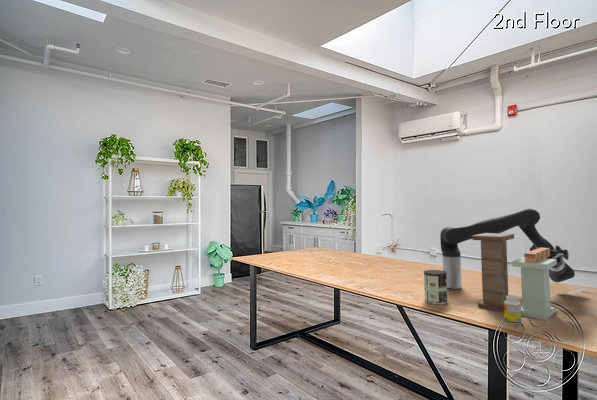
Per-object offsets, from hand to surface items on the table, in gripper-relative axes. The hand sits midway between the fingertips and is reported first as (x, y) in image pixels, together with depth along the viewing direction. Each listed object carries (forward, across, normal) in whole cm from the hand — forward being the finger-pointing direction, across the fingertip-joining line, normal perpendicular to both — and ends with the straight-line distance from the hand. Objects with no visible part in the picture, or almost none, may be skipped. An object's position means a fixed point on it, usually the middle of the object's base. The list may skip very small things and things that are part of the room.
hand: (545, 246), depth 157 cm
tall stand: (+2, -15, +31) cm, 35 cm away
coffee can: (+11, -38, +36) cm, 54 cm away
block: (+9, 0, +10) cm, 13 cm away
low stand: (+2, 0, +31) cm, 31 cm away
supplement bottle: (+19, -3, +41) cm, 45 cm away
